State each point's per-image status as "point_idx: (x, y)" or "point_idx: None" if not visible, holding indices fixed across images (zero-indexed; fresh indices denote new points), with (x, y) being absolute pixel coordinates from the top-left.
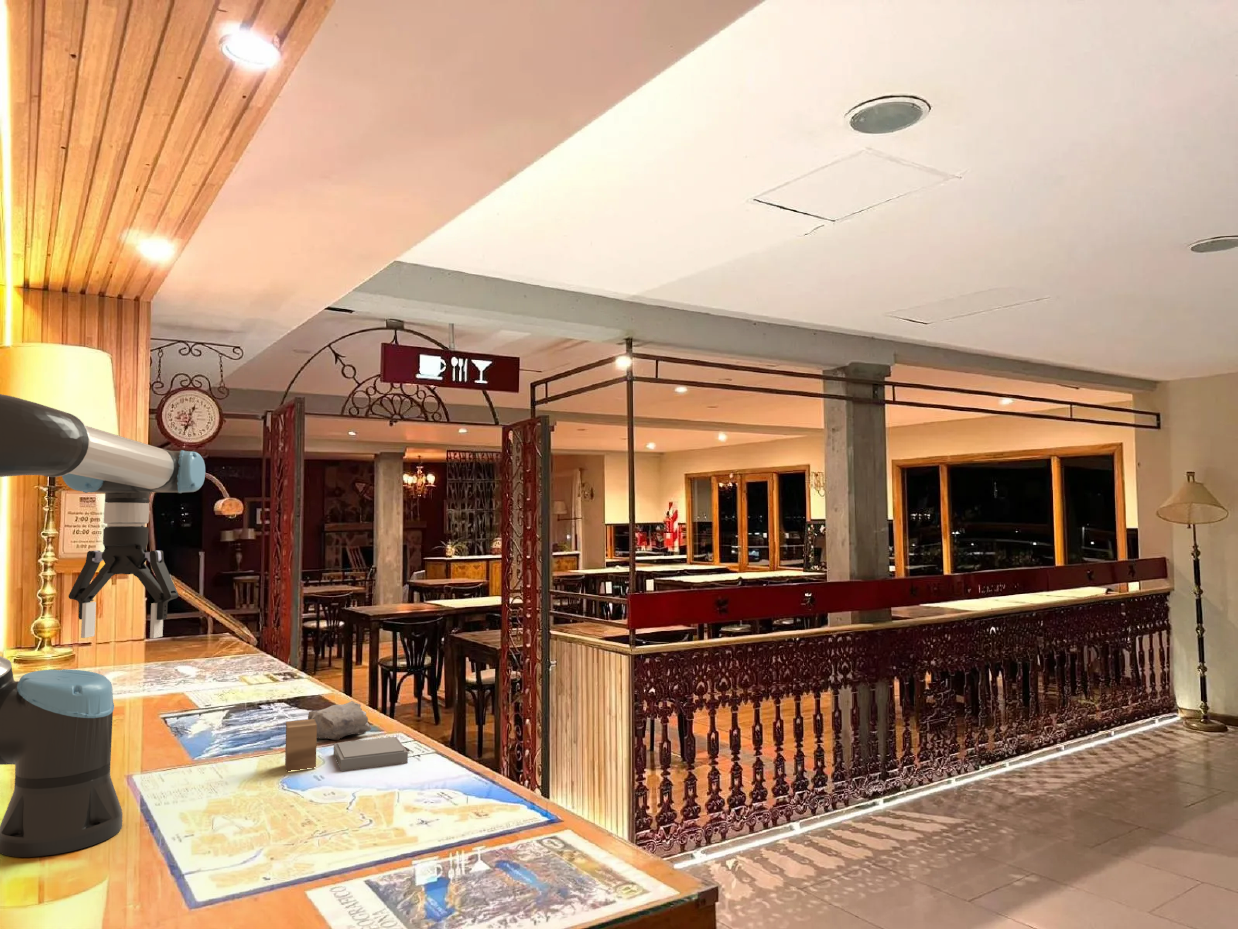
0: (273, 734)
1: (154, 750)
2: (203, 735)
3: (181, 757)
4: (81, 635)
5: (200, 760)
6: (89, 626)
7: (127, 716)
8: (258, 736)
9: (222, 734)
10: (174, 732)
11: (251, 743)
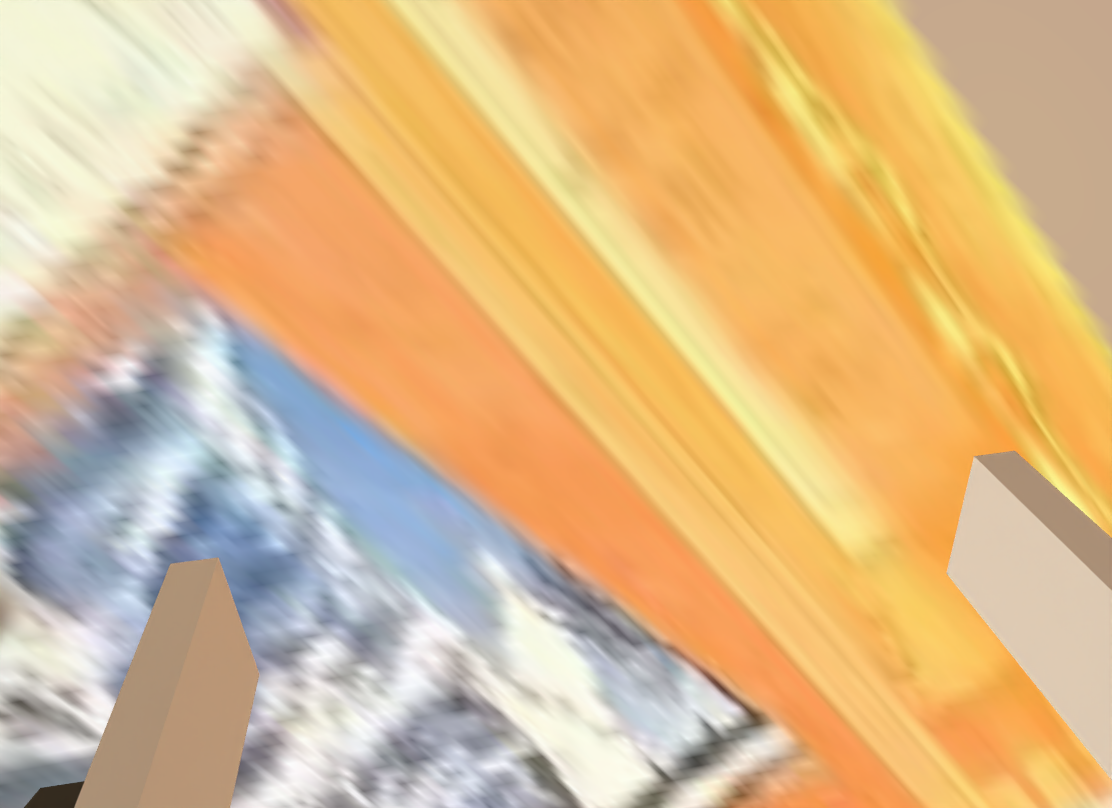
0: None
1: (489, 385)
2: (450, 583)
3: (290, 319)
4: (1028, 467)
5: (164, 294)
6: (1031, 585)
7: (895, 705)
8: None
9: (385, 607)
10: (592, 592)
11: (161, 535)
